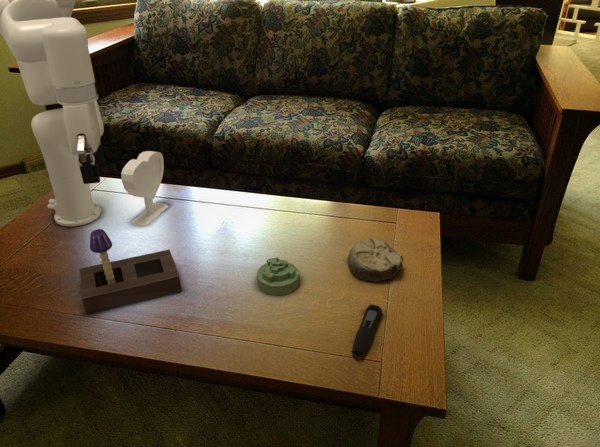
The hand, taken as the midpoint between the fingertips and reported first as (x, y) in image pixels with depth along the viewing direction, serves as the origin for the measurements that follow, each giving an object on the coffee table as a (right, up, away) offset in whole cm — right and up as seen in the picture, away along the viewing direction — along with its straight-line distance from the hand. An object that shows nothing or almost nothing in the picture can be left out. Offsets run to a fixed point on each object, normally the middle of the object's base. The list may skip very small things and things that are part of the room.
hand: (94, 172), depth 109 cm
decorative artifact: (+38, -25, +15) cm, 48 cm away
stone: (+62, -22, +20) cm, 69 cm away
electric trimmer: (+57, -34, 0) cm, 67 cm away
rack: (+4, -26, +13) cm, 29 cm away
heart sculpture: (-1, -8, +43) cm, 44 cm away
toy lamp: (-1, -27, +12) cm, 29 cm away
